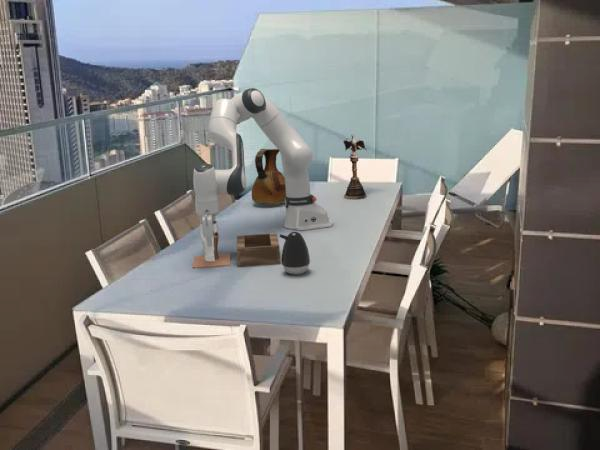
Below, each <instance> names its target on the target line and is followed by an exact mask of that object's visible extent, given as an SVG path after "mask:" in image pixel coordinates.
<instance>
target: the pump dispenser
mask: <svg viewBox="0 0 600 450" xmlns="http://www.w3.org/2000/svg"><path fill="white" fill-rule="evenodd" d="M279 238H281V239H284V240H285V241H284V244H283V247H282V251H281V265H282V267H283V270H284V271H285V272H286V273H287V274H290V275H294V276H296V275H302V274H304V273H305V272H306V271H307V270H308V269H309V265H310V264H311V258H310V252H309V249H308V245H307V242H306V240H305V238H304V237H303V235H302V234H301V232H298V231H295V230H294V231H290V233H288V234H287V235H285V234H279Z"/></svg>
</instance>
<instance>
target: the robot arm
mask: <svg viewBox="0 0 600 450" xmlns="http://www.w3.org/2000/svg"><path fill="white" fill-rule="evenodd" d="M251 118H252V119H253V120H254V121H255V123H256V125H257V126H258V127H259V129H261V131H262V132H263V134H264V135H265V136H266V137H267V139H268V140H269V141H270V142H271V143H272V144H273V145H274V146H275V148H276V149H278V150H279V153H280V158H281V165H282V171H283V174H284V175H283V176H284V177H285V188H286V196H285V202H284V206H285V217H284V218H285V221H284V224H283V226H284V228H286V229H292V230H297V231H307V230H308V231H309V230H315V229H323V228H331V227H332V226H333V225H334V222H333V220H332V219H331V218H329V216H328V212H327V211H326V209H325V208H324V207H322V206H320V205H319V204H317V203H316V201H317V197H316V196H315V195H313V194H311V188H310V187H311V186H310V176H309V172H308V169H307V166H308V165H310V164H311V163H312V160H313V158H314V156H313V155H314V154H313V151H312V148H311V147H310V145H308V144H307V143H306V141H305V140H304V139H303V138H302V137H301V135H300V134H299V133H298V132H297V131H296V130H295V129H294V127H292V125H291V124H290V123H289V122H288V121H287V119H286V118H285V116H284V115H283V113H281V112H280V110H279V109H278V108H277V107H276V105H275V104H274V103H273V102H272V101H271V100H270V99H268V97H266V96H264V94H263V93H262V92H261V90H259V89H257V88H254V87H251V88H247V89H244V91H241V92H239V93H237V94H236V95H234V96H233V97H231V98H230V99H229V98H219V99H218V100H217V101H215V103H214V105H213V108H212V110H211V112H210V116H209V120H208V121H209V122H208V125H207V126H208V127H207V128H208V130H207V133H208V136H209V138H210V139H211V141H212V142H213V143H214V144H216V145H218V146H219V147H222V148H224V149H228V150H230V151H232V154H231V155H232V167H231V168H229V169H215V167H214V165H213V164H210V163H201V164H198V165H196V166H195V167H194V168H193V173H192V174H193V175H192V180H193V181H192V183H193V192H194V194H195V195H194V196H195V197H194V203H195V205H194V206H195V213H196V214H197V215H199V218H201V222H202V229H203V237H204V238H206V240H207V246H208V247H211V246H212V237H213V233H214V227H213V224H214V221H216V217H217V213H219V212H220V203H219V202H220V201H219V197H218V195H228V196H237V197H238V196H240V195H241V194H243V192H244V191H245V190H246V189H247V177H246V171H245V169H246V168H245V151H244V141H243V138H242V136H241V134H240V133H238V132H237V126H238V125H239V124H241V123H243V122H245V121H248V120H249V119H251ZM206 225H208V226H206Z"/></svg>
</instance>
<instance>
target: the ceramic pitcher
mask: <svg viewBox="0 0 600 450" xmlns="http://www.w3.org/2000/svg"><path fill="white" fill-rule="evenodd" d="M279 153H280V151H279V150H278V148H272V149H271V148H269V149H268V148H260V150H258V152H256V155H255V158H254V162H255V163H254V165H255V168H256V173H257V176H256V178H255V180H254V182H253V185H252V188H251V199H252V201H253V202H254V203H258V204H260V205H264V206H278V205H280V204H283V203H285V196H286V188H285V176H284V175H283V174H282V172H281V171H279V169H278V166H277V156H278V154H279ZM263 157H264V160H265V161H264V162H265V164H263ZM264 165H265V166H264Z"/></svg>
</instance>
